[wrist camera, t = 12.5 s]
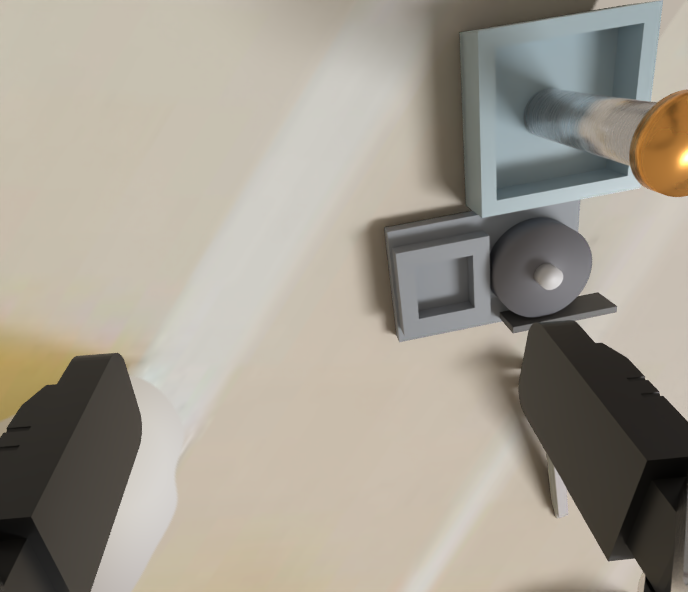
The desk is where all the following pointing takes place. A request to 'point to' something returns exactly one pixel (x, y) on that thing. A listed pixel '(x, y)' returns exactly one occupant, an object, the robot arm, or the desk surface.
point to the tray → (543, 73)
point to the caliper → (557, 491)
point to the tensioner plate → (451, 269)
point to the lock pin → (620, 132)
